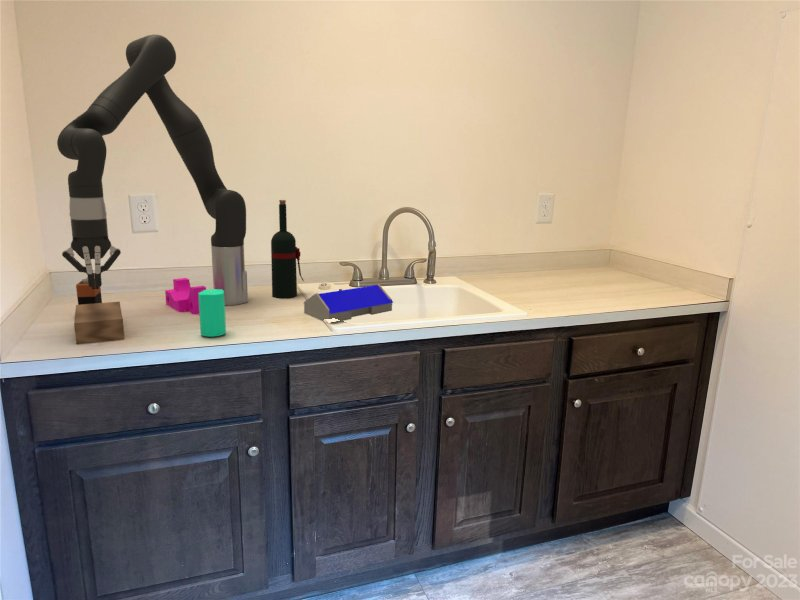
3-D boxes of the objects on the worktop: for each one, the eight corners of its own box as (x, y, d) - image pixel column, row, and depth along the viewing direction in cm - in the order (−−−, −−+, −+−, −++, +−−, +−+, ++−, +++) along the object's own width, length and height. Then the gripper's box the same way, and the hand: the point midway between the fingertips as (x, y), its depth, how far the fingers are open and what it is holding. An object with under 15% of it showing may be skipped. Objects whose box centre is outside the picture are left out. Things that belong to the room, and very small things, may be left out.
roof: (364, 303, 179) (364, 279, 177) (393, 312, 169) (394, 288, 167) (302, 313, 165) (302, 288, 163) (330, 325, 155) (330, 298, 153)
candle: (217, 328, 148) (214, 282, 145) (230, 332, 145) (228, 285, 142) (195, 332, 144) (193, 285, 141) (209, 338, 140) (207, 289, 137)
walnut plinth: (121, 319, 153) (119, 301, 152) (124, 339, 138) (122, 318, 136) (78, 323, 149) (76, 304, 147) (76, 344, 133) (74, 323, 132)
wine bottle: (307, 297, 182) (306, 201, 175) (275, 300, 178) (272, 201, 171) (300, 292, 189) (299, 199, 182) (269, 294, 185) (266, 199, 178)
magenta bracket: (166, 305, 170) (164, 280, 168) (187, 302, 174) (185, 277, 172) (185, 316, 159) (183, 289, 157) (207, 313, 163) (205, 287, 161)
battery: (78, 317, 154) (74, 281, 152) (86, 311, 160) (82, 275, 158) (96, 317, 155) (93, 280, 153) (103, 310, 161) (99, 275, 159)
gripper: (119, 214, 143) (124, 283, 147) (57, 215, 137) (64, 287, 141) (120, 217, 136) (126, 289, 140) (55, 218, 130) (63, 294, 134)
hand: (95, 288), depth 141 cm, fingers closed
